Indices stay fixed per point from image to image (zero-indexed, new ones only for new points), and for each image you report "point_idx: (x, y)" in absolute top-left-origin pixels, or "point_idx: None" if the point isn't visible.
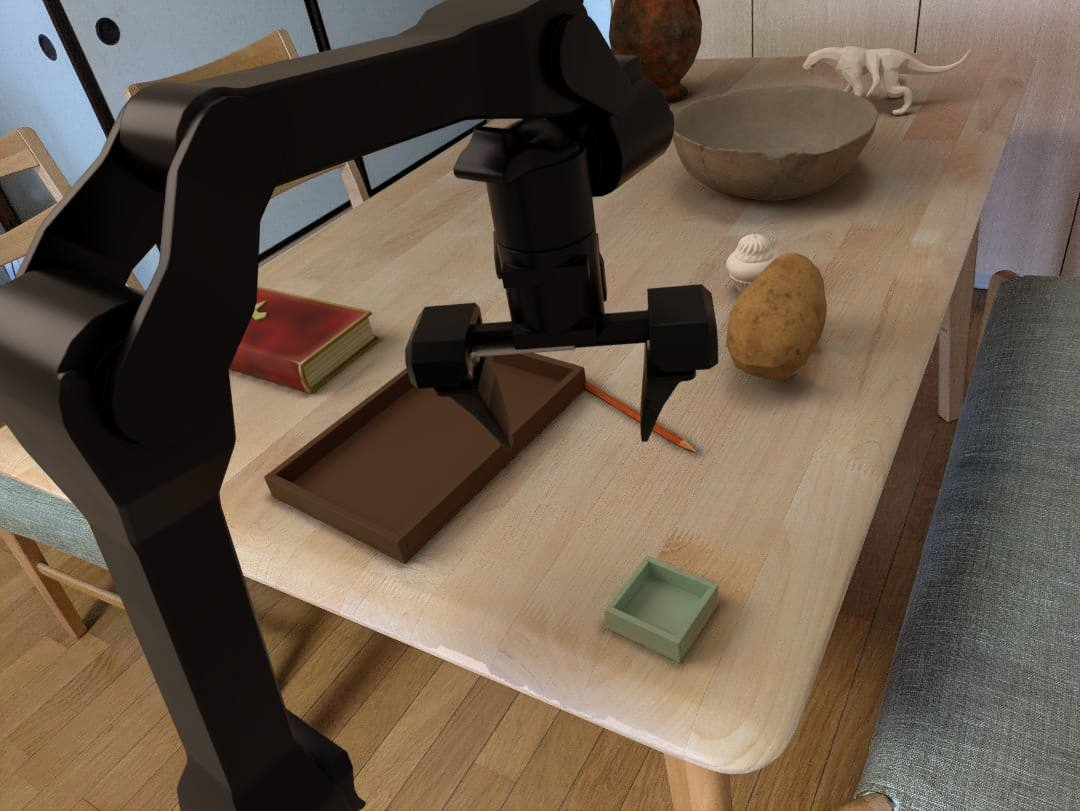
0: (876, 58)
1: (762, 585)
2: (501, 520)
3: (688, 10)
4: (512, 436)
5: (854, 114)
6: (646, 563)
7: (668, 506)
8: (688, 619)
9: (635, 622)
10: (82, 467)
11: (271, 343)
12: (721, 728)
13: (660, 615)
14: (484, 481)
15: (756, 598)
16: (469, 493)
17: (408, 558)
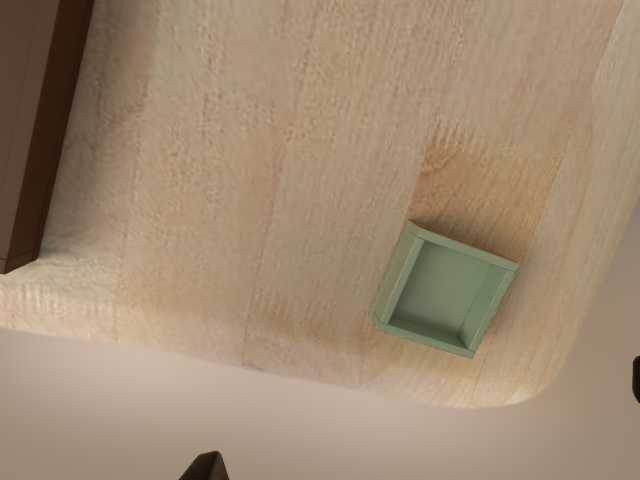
0: None
1: (551, 213)
2: (153, 143)
3: None
4: (216, 461)
5: None
6: (422, 243)
7: (423, 73)
8: (483, 325)
9: (419, 342)
10: None
11: None
12: (498, 398)
13: (434, 293)
14: (76, 53)
15: (542, 235)
16: (64, 96)
17: (37, 250)
